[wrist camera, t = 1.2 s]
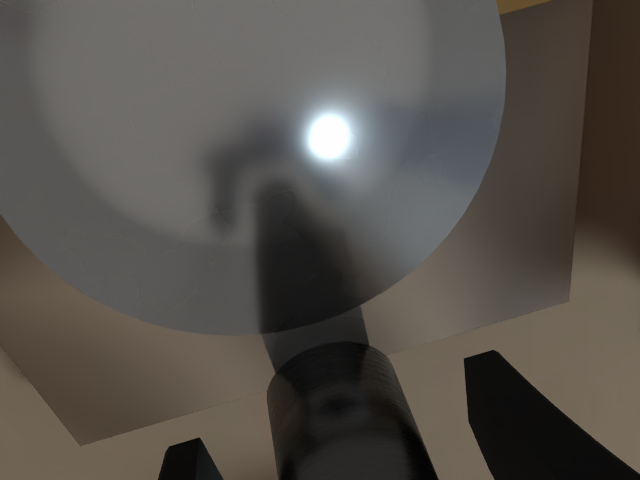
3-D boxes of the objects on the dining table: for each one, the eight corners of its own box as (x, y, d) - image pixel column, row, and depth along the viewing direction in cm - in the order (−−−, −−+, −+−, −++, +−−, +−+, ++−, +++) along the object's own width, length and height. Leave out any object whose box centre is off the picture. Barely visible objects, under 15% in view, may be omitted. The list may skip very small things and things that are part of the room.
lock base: (573, -817, 8) (790, -1197, 5) (537, 264, 20) (596, 333, 17) (-591, -572, 7) (-1094, -851, 4) (89, 395, 19) (72, 490, 16)
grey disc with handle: (-112, -104, 8) (-546, -49, 3) (434, -241, 8) (759, -372, 4) (175, 402, 14) (170, 658, 10) (469, 315, 15) (598, 524, 10)
